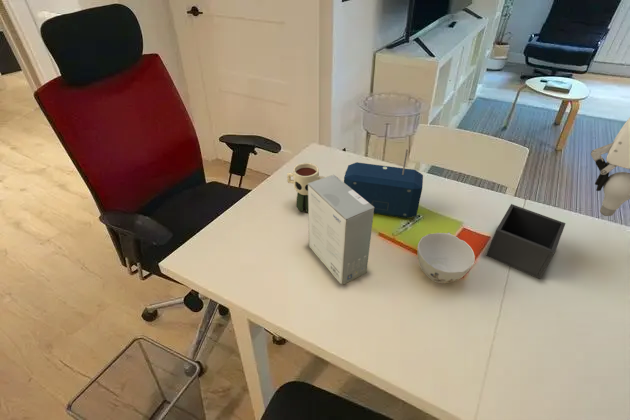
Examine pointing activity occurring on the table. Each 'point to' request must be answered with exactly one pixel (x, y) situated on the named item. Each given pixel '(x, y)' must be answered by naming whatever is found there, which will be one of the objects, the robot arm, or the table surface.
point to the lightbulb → (615, 192)
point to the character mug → (303, 182)
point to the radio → (387, 187)
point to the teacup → (444, 257)
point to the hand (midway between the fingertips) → (617, 192)
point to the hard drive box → (339, 227)
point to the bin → (525, 240)
